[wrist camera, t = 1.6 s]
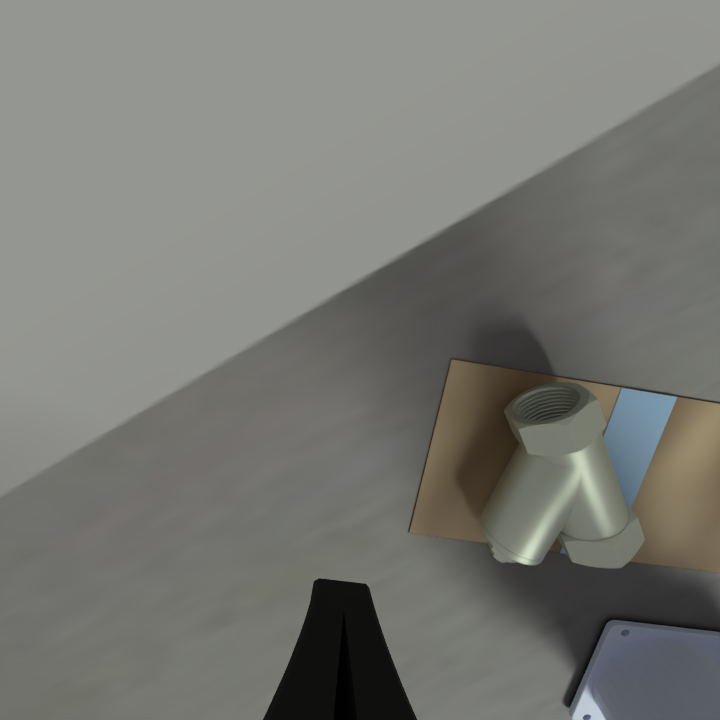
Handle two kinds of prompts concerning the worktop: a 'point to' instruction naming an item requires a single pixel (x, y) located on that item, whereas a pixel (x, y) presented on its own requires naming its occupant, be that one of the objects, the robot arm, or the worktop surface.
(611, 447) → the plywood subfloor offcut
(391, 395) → the worktop surface
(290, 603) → the worktop surface
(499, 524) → the pipe fitting
